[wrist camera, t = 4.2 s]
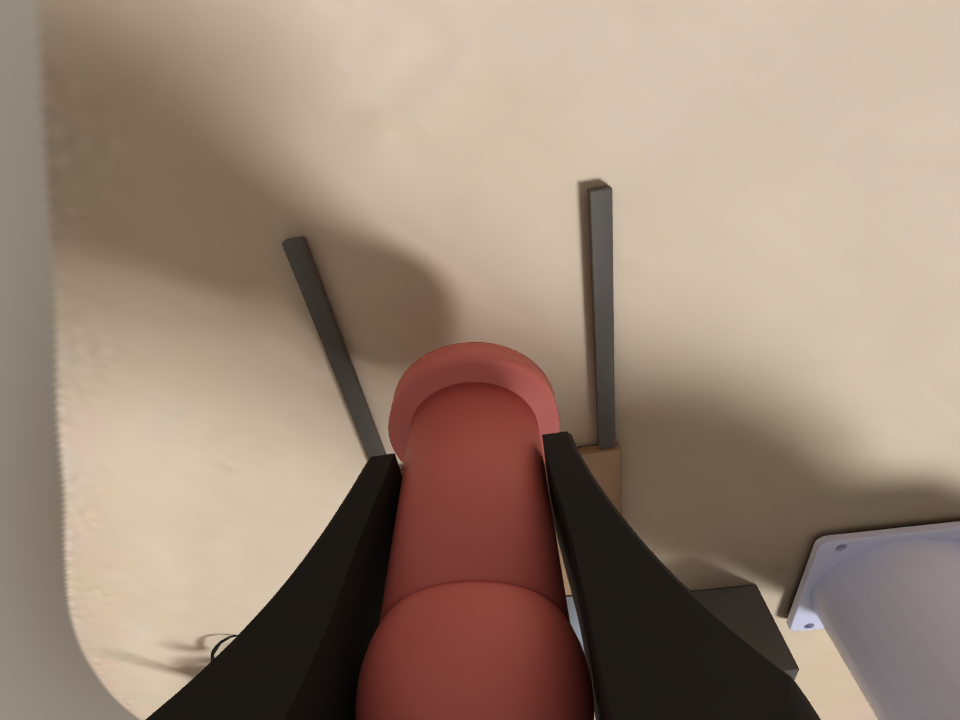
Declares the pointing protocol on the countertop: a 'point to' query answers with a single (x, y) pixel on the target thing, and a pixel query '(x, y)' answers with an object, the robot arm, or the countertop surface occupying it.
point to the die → (750, 622)
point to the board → (607, 452)
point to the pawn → (474, 552)
